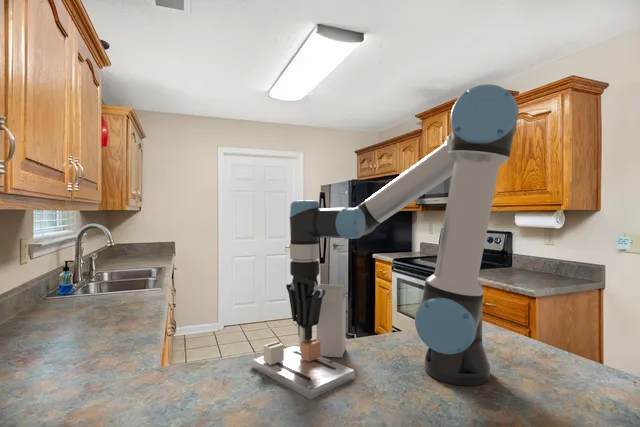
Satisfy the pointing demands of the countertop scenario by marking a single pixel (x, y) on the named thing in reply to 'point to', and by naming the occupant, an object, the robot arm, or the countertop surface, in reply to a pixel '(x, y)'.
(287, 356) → the console
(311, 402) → the countertop surface
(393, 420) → the countertop surface
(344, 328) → the milk carton
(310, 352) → the fader
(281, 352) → the block
